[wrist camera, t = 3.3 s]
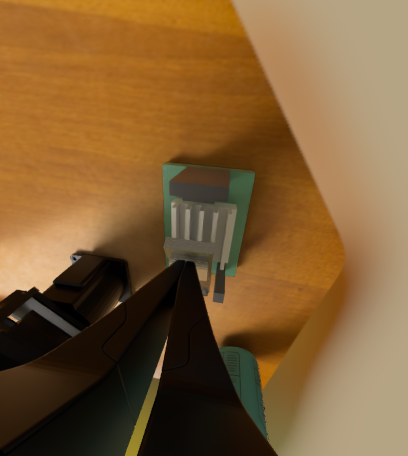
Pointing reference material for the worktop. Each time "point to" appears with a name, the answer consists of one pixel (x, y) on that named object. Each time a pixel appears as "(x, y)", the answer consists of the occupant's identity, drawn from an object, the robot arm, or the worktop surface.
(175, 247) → the strap
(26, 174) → the worktop surface
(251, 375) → the beverage bottle
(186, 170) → the board
